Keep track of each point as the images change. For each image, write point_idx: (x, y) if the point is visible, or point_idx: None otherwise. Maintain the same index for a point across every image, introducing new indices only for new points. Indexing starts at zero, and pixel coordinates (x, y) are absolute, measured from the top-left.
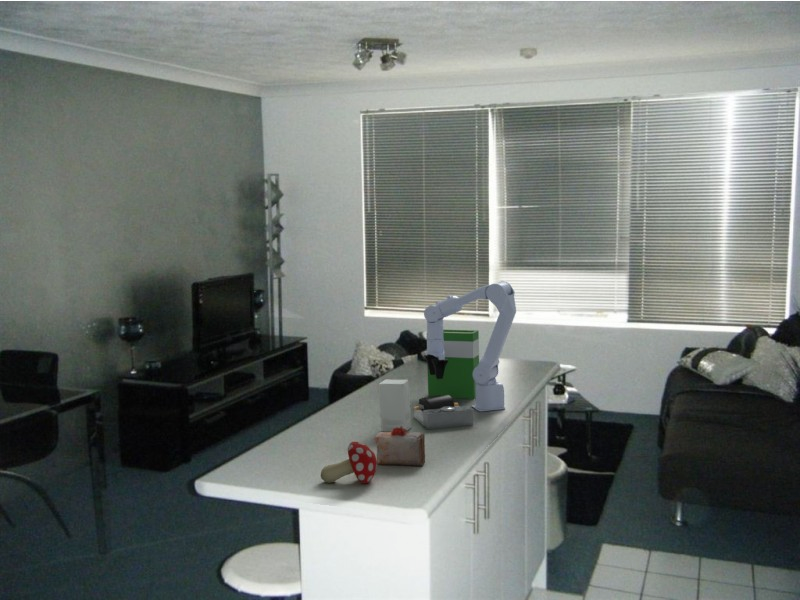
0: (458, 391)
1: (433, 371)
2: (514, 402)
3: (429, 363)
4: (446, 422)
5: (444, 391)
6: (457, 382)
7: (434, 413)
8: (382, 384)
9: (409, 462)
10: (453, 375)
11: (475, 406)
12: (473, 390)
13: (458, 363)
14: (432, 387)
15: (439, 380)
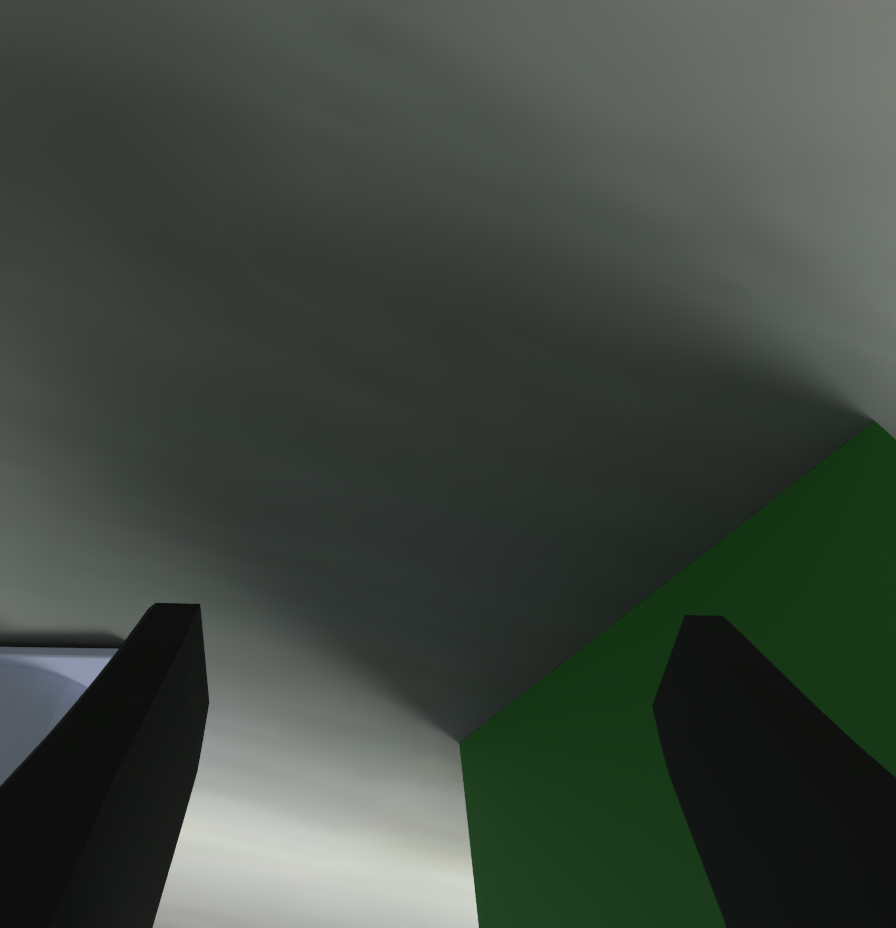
0: (591, 710)
1: (695, 728)
2: (190, 913)
3: (852, 884)
4: None
5: (724, 603)
6: (629, 802)
7: None
8: None
9: None
10: (702, 867)
11: (52, 670)
12: (472, 818)
13: None
14: (888, 530)
15: (851, 674)
